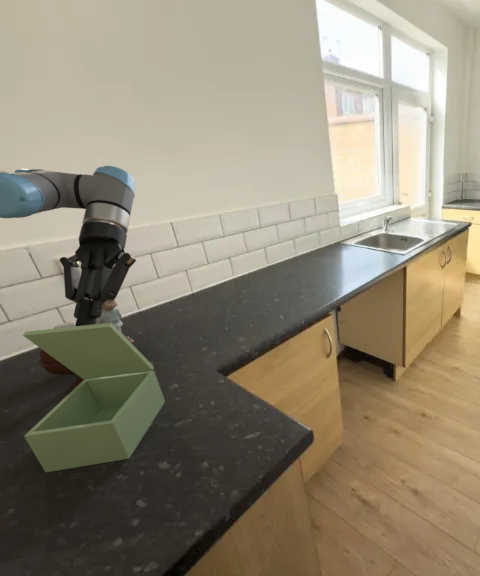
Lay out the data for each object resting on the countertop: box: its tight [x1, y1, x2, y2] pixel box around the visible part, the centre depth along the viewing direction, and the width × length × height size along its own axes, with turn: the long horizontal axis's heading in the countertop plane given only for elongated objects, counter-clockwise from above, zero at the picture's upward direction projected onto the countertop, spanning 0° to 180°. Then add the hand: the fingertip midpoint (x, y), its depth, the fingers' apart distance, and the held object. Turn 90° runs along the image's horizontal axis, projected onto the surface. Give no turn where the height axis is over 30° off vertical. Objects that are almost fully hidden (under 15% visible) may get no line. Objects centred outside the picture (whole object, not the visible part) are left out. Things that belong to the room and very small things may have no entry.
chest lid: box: [22, 323, 155, 379], centre depth 63 cm, size 17×14×1 cm
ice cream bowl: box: [37, 348, 98, 392], centre depth 78 cm, size 11×11×15 cm
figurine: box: [95, 298, 135, 345], centre depth 92 cm, size 9×8×20 cm
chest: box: [23, 370, 166, 473], centre depth 64 cm, size 16×14×9 cm
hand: (83, 334), depth 60 cm, fingers closed
